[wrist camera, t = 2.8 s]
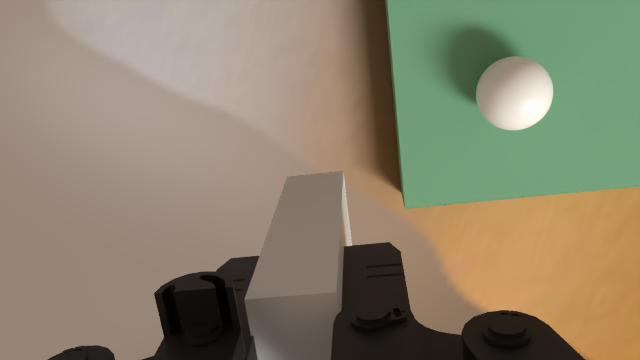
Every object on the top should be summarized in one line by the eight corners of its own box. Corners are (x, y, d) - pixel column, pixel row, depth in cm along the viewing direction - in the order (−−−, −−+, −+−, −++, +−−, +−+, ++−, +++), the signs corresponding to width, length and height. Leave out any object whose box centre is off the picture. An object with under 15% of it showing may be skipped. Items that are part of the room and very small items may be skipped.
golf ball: (468, 56, 30) (482, 65, 26) (540, 48, 29) (563, 56, 26) (471, 125, 31) (485, 142, 28) (541, 117, 31) (563, 134, 27)
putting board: (382, -23, 31) (388, -24, 26) (833, -82, 29) (937, -96, 24) (401, 193, 35) (409, 230, 30) (803, 154, 33) (888, 186, 28)
